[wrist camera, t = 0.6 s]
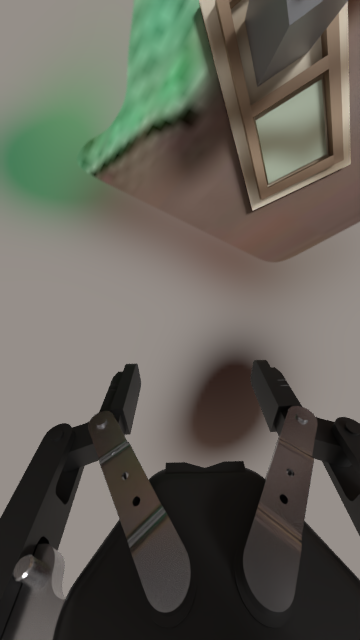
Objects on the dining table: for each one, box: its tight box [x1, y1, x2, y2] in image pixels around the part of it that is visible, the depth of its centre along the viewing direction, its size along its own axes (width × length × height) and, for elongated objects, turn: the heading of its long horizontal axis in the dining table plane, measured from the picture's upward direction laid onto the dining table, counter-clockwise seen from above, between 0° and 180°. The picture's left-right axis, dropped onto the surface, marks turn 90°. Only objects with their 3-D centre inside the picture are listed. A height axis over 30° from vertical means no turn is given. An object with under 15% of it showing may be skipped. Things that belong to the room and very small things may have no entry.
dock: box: [199, 0, 351, 211], centre depth 22 cm, size 20×12×2 cm, turn 26°
